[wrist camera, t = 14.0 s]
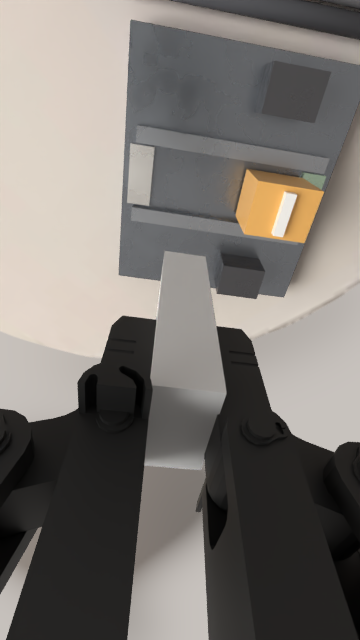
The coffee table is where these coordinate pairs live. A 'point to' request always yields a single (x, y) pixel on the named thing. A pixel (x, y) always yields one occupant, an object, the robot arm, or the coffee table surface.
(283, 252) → the panel
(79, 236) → the coffee table surface
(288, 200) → the slider
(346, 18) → the grey cylinders
